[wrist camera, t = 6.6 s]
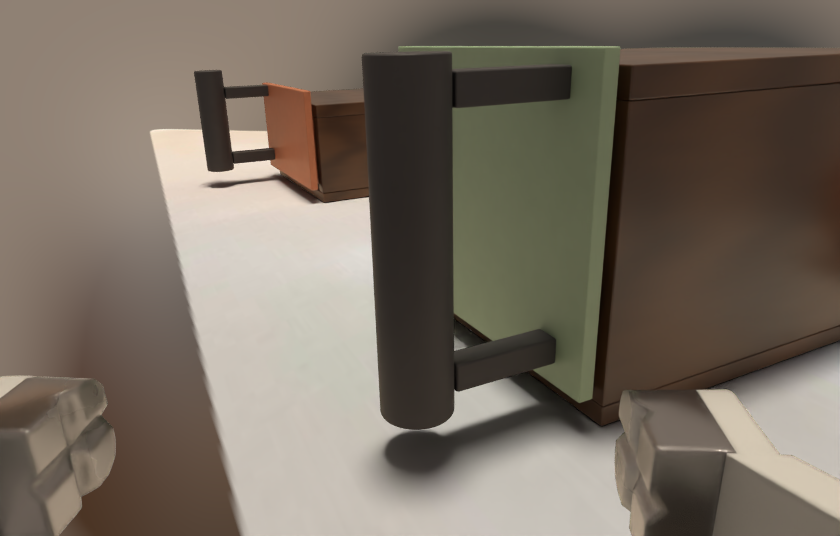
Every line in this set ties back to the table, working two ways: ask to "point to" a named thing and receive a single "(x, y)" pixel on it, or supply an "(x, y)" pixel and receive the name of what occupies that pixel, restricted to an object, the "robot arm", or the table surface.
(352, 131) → the cubby low
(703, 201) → the wooden drawer cabinet
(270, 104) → the orange drawer
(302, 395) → the table surface
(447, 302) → the green drawer
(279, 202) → the table surface
